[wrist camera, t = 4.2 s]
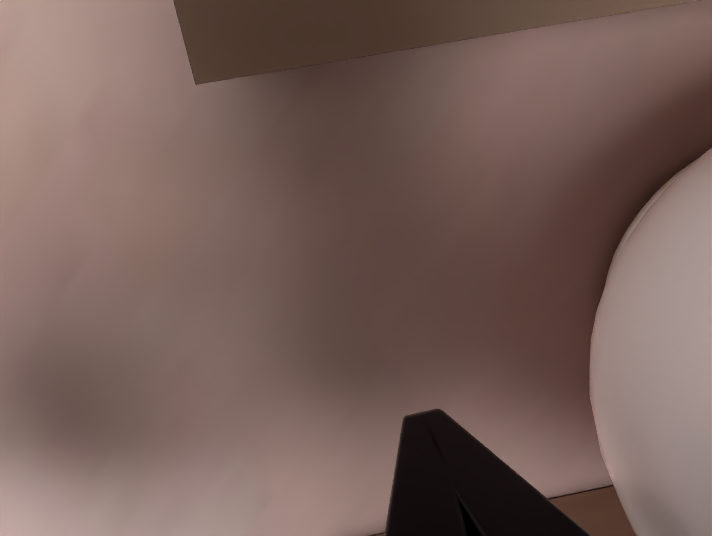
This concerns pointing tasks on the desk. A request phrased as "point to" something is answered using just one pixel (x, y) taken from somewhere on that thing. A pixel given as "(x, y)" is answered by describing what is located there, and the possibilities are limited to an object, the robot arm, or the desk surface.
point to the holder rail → (370, 37)
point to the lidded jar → (659, 360)
